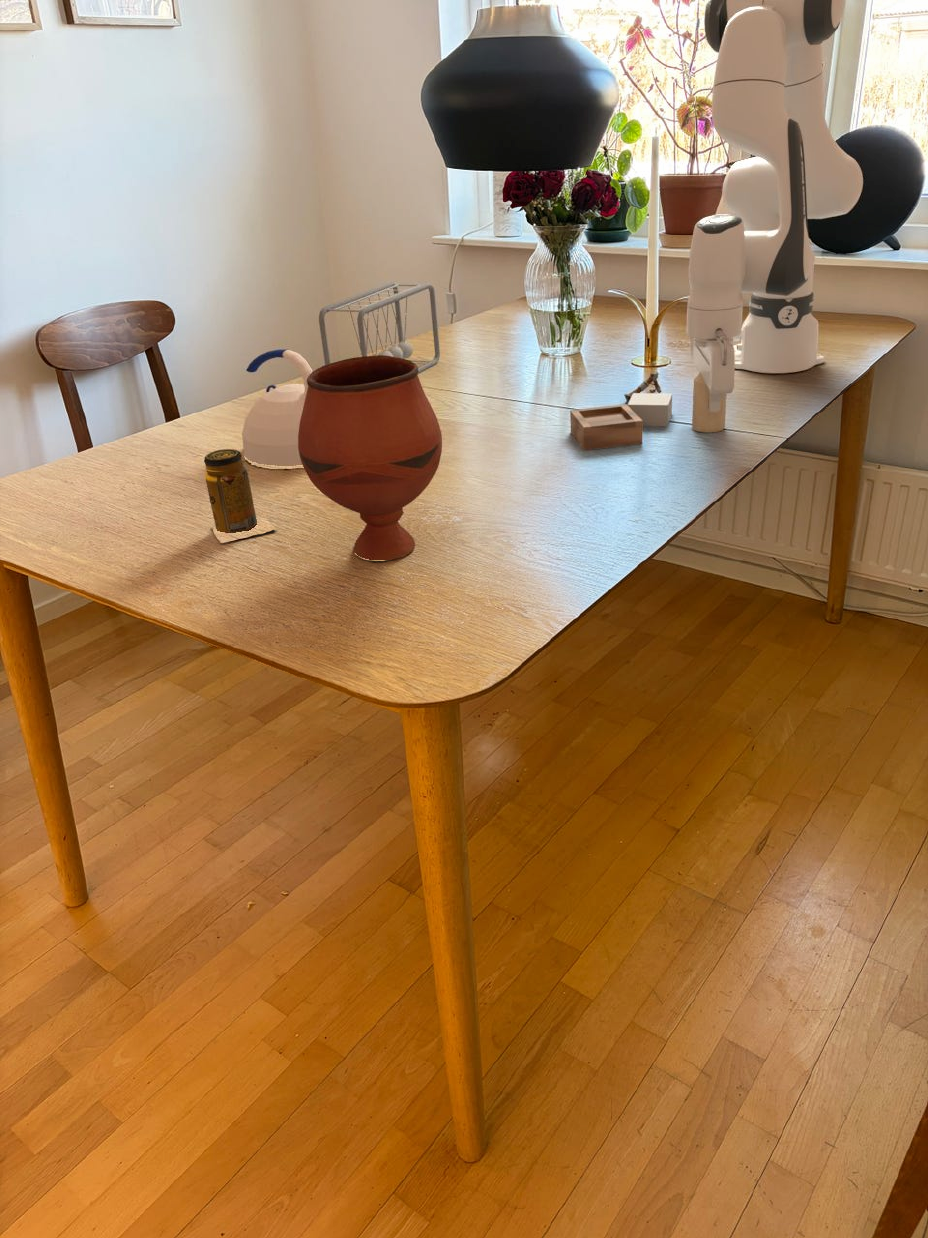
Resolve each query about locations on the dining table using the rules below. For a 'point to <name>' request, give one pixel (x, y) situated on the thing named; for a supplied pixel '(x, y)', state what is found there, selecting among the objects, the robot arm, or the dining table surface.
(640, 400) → the grey block
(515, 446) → the dining table surface
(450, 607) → the dining table surface
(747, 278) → the robot arm
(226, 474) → the condiment
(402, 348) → the newton's cradle
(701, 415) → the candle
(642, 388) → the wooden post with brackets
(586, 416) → the square wooden tray
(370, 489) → the goblet
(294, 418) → the kettle
